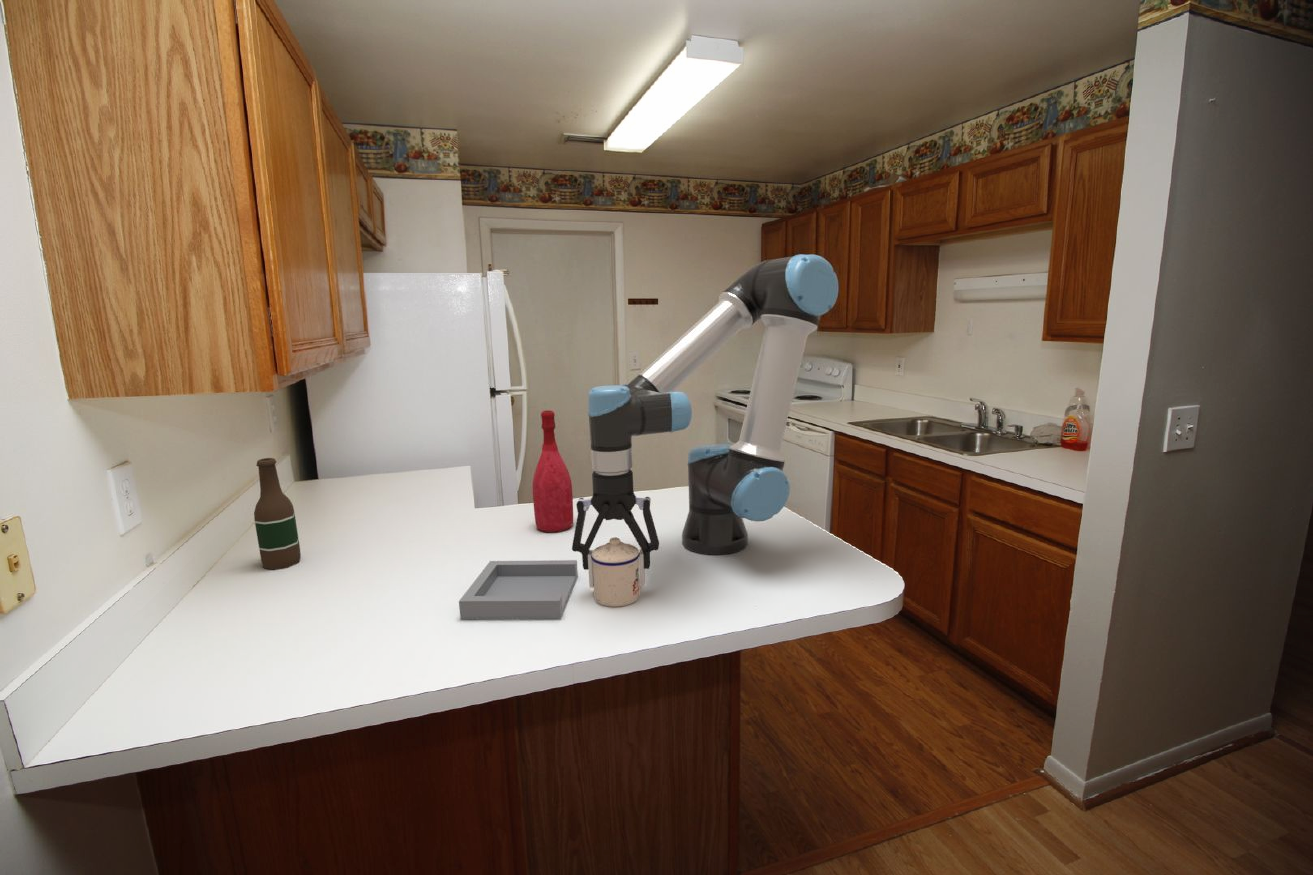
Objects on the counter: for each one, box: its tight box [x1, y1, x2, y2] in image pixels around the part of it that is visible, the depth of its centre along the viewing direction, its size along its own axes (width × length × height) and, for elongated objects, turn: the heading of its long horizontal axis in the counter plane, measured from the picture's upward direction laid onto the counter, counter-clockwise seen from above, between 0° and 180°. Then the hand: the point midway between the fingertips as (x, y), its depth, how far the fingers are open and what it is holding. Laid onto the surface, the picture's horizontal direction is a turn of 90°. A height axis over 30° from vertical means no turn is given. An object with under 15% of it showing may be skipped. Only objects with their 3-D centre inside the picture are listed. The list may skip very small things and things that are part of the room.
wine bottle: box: [532, 409, 574, 533], centre depth 153 cm, size 10×10×30 cm
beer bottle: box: [253, 457, 302, 571], centre depth 134 cm, size 8×8×24 cm
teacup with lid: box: [591, 537, 641, 608], centre depth 116 cm, size 12×9×12 cm
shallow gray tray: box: [458, 559, 579, 620], centre depth 117 cm, size 18×18×4 cm
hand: (617, 584), depth 117 cm, fingers closed on teacup with lid, 9 cm apart
